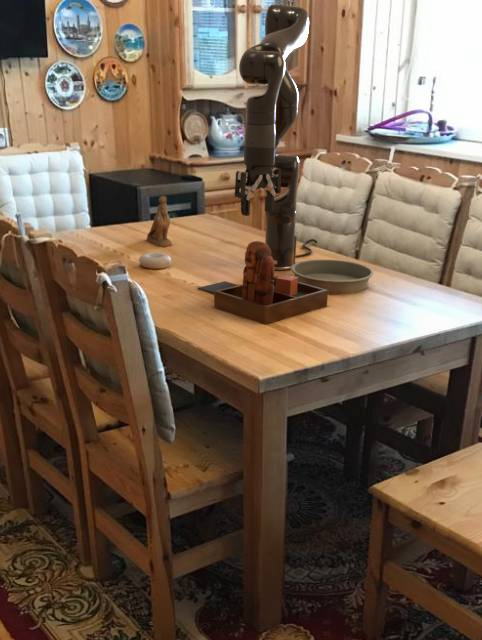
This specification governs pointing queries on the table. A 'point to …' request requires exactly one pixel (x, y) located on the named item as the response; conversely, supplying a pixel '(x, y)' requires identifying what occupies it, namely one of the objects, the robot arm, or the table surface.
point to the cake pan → (333, 275)
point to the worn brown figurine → (160, 224)
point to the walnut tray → (280, 307)
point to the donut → (155, 260)
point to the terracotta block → (287, 284)
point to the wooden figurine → (258, 274)
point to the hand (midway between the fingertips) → (257, 213)
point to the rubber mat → (216, 287)
